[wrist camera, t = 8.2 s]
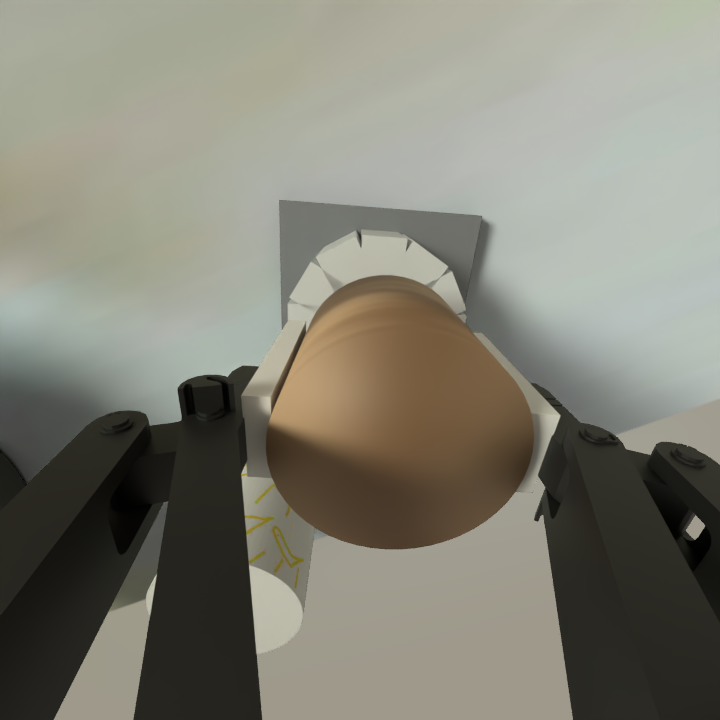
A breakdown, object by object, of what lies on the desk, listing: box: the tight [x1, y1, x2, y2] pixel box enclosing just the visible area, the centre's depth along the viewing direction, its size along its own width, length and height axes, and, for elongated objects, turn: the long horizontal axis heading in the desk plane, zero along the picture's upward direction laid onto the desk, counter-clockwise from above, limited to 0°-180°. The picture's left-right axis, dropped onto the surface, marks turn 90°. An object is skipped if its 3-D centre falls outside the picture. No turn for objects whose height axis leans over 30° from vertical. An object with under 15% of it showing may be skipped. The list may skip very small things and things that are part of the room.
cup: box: [146, 464, 315, 654], centre depth 24 cm, size 8×8×12 cm
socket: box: [279, 200, 482, 332], centre depth 21 cm, size 12×12×6 cm
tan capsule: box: [266, 275, 534, 549], centre depth 14 cm, size 7×7×11 cm
